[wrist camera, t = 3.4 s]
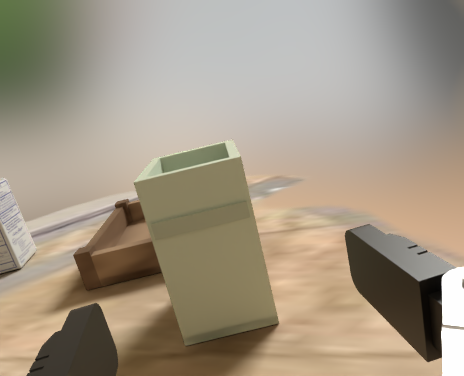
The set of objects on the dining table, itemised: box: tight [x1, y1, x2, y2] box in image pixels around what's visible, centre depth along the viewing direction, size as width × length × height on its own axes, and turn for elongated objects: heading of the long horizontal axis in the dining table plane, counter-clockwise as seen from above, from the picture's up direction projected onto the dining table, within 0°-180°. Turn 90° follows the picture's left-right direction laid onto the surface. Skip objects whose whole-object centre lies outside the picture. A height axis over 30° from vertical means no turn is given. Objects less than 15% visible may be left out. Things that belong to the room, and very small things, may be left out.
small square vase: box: [134, 140, 279, 346], centre depth 21 cm, size 5×6×9 cm
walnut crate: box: [73, 199, 162, 290], centre depth 34 cm, size 12×14×3 cm
